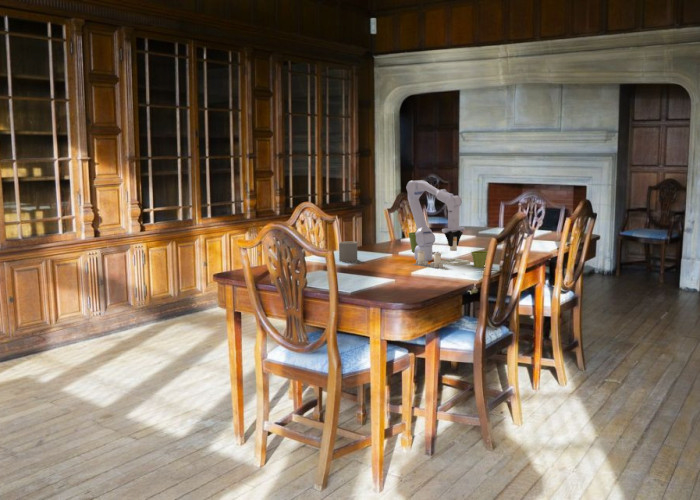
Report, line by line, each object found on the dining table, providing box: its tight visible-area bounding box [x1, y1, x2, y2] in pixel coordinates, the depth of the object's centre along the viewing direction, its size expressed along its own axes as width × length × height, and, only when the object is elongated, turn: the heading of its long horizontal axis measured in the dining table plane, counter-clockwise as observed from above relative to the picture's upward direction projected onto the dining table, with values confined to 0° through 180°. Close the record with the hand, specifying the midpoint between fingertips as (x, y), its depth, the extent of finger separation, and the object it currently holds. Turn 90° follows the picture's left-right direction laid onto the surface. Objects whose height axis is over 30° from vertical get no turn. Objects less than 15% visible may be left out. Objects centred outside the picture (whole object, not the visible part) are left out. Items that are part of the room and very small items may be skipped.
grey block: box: [338, 240, 358, 263], centre depth 395 cm, size 13×10×10 cm
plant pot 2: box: [470, 250, 488, 268], centre depth 359 cm, size 9×9×9 cm
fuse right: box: [433, 252, 442, 269], centre depth 358 cm, size 3×3×7 cm
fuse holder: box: [411, 259, 448, 270], centre depth 363 cm, size 19×7×4 cm, turn 36°
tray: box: [441, 257, 471, 266], centre depth 372 cm, size 12×12×3 cm
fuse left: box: [417, 250, 425, 266], centre depth 367 cm, size 3×3×7 cm
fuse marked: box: [449, 237, 458, 252], centre depth 370 cm, size 4×4×7 cm
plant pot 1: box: [407, 231, 418, 253], centre depth 424 cm, size 12×12×11 cm
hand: (453, 245), depth 370 cm, fingers closed on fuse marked, 3 cm apart
